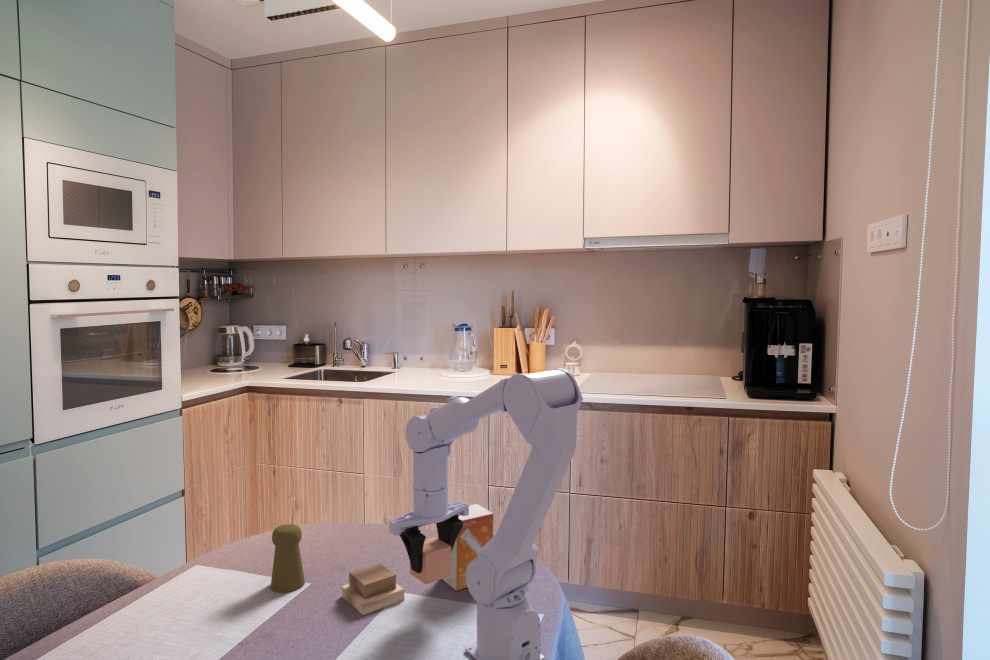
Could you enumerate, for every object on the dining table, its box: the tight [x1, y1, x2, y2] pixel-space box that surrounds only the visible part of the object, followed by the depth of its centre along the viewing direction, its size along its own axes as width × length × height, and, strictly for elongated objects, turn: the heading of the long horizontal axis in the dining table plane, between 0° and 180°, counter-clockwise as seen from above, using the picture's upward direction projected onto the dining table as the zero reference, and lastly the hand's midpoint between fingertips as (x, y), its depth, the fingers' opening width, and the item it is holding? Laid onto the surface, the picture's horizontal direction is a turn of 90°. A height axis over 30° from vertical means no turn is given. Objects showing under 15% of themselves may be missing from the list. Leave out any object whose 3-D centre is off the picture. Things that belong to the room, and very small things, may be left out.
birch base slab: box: [341, 583, 405, 616], centre depth 106 cm, size 8×8×2 cm
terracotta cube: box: [409, 536, 451, 586], centre depth 100 cm, size 5×5×5 cm
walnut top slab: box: [348, 562, 397, 599], centre depth 106 cm, size 6×6×2 cm
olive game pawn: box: [269, 523, 306, 594], centre depth 110 cm, size 6×6×11 cm
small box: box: [442, 503, 494, 592], centre depth 113 cm, size 8×6×13 cm
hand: (430, 565), depth 100 cm, fingers closed on terracotta cube, 5 cm apart
